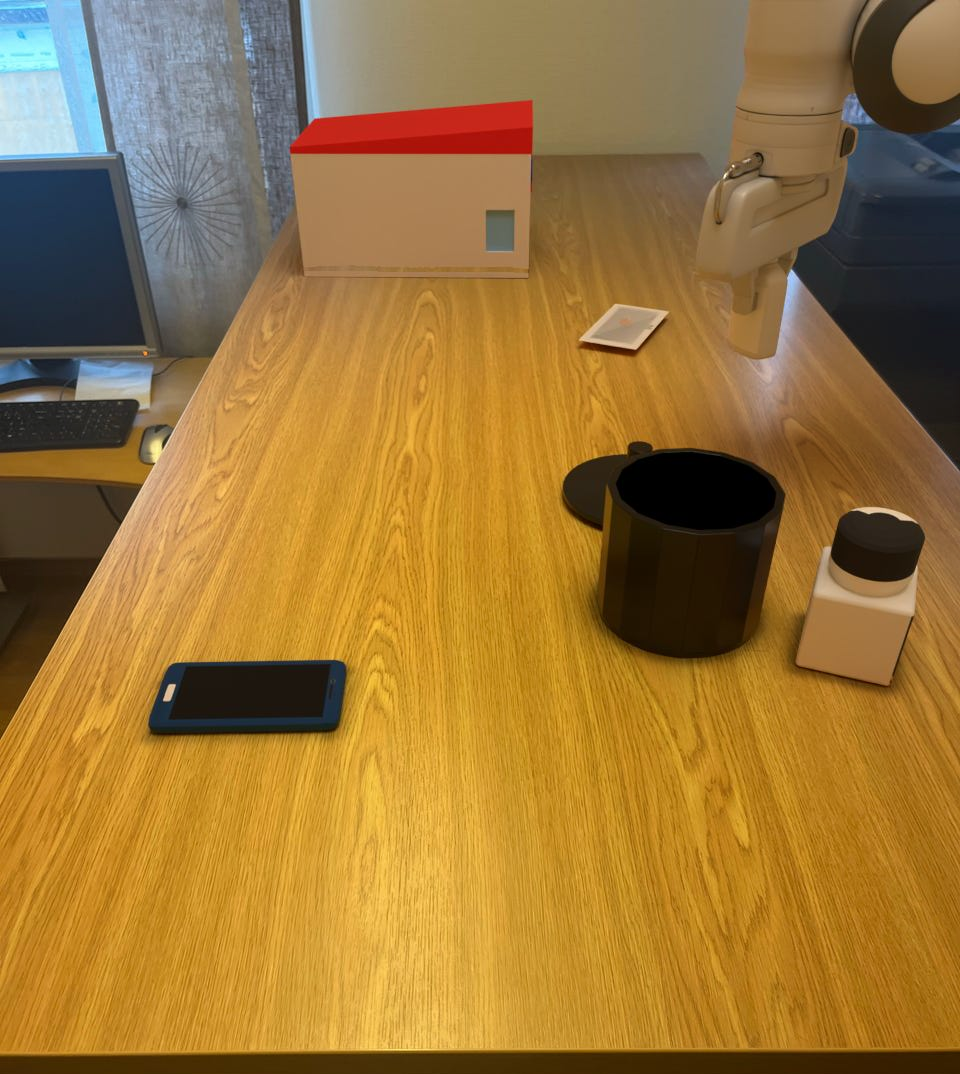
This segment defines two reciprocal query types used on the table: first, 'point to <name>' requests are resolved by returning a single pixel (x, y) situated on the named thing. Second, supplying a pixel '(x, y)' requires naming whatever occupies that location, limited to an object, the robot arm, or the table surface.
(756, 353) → the eye dropper bottle
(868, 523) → the medicine bottle
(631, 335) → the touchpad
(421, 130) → the bookstore
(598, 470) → the tin lid
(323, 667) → the cell phone
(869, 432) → the table surface
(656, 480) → the tin
